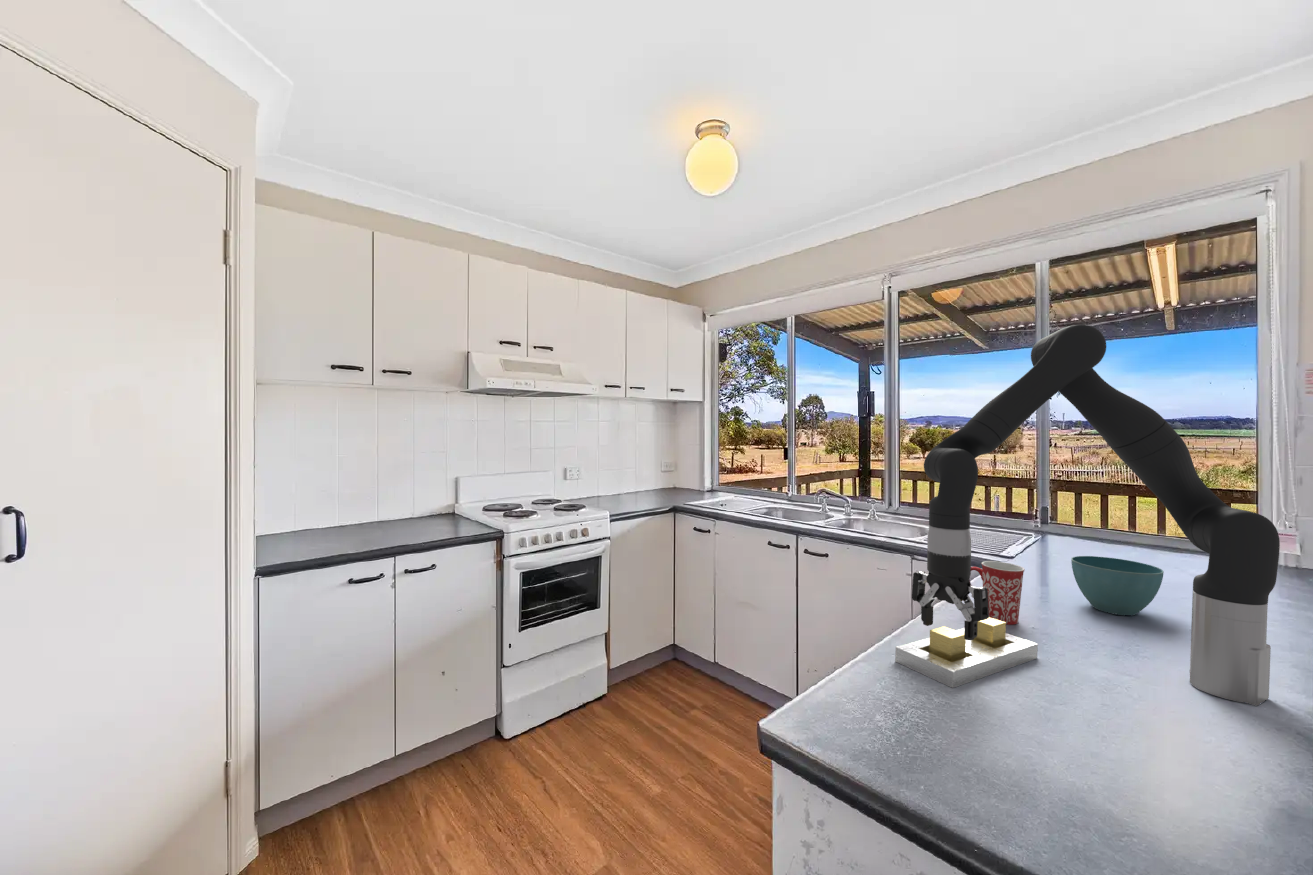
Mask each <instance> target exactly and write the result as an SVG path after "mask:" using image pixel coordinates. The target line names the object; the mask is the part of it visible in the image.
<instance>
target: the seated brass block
mask: <svg viewBox="0 0 1313 875" xmlns="http://www.w3.org/2000/svg"><path fill="white" fill-rule="evenodd" d="M1006 629H1007V627H1006V622H1003V621H1000V620H997V619H994V618H990V617H989V618H988V619H985V620H982V621H978V627H977V637H975V638H974V639H973V641H976V642H979V643H981V644H984V645H987V646H990V647H992V648H995V649H996V648H999V647H1002V646H1005V634H1006V633H1007V632H1006V631H1007V630H1006Z"/></svg>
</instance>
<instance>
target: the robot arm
mask: <svg viewBox="0 0 1313 875" xmlns="http://www.w3.org/2000/svg"><path fill="white" fill-rule="evenodd" d="M1106 351H1107V341H1106V339H1105V336H1104V335H1103V333H1102V332H1101V331H1100V330H1099V329H1098V328H1096V327H1094V326H1091V325H1088V324H1072V325H1070V326H1066V327H1063V328H1061V329H1058V330H1057V331H1054V332H1052V333H1051V334H1048V335H1046V336H1045V337H1043V338H1041V339H1039V340H1038V341H1036V343H1034V345H1033V346H1032V348H1031V350H1030V360H1031V365H1032V366H1033V367H1031V368H1030V369H1029V370H1028V371H1027V372H1025V374H1024V375H1023V376H1021V377H1020V378H1019V379H1018V380H1016V381H1015V382H1014V383H1013V384H1012V385H1010V386H1008V387H1007V388H1006V389H1005V390H1003V391H1001V393H999V394H998V395H997V396H995V397H994V398H992V399H991V400H990V401H989V402H987V404H985V405H984V406H983V407H982V408H981V409H979V411H977V412H976V414H974V416H972V418H970V419H969V420H968V422H966V423H965V424H964V425H963V426H962V427H961V428H960V429H959V430H957V431H955V432H954V433H952V434H951V435H949V436H947V437H946V438H945V439H943V440H942V441H941V442H939V443H937V445H935V446H934V447H933V448H932V449H931V450H930V451H929V452H928V454H927V455H926V456H925V459H924V461H923V470H924V473H925V475H926V476H927V477H928V478H929V479H931V480H933V481H934V482H937V483H939V484H938V486H939V487H938V492H937V495H936V496H934V497H932V498H931V500H929V507H928V530H927V540H926V541H927V543H926V545H927V546H926V547H927V552H926V556H927V557H926V558H927V559H926V564H927V565H926V570H927V572H928V573H926V572H925V571H924V570H920V571H915V572H913V574H912V588H911V590H912V591H911V599H912V601H914V602H917V603H918V604H919V605H920V607H921V608H920V609H921V614H920V615H921V616H920V619H921V621H922V624H923V626H926V627H929V626H931V625H933V624H934V606H933V604H934V602H936V601H937V600H939V601H942V602H943V601H944V602H946V603H948V604H951V605H955V607H956V609H957V610H958V611H960V612H961V614H962V616H963V617H964V619H965V620H964V627H963V628H964V638H965V640H968V641H970V640H973V639H974V638H975V637H977V627H978V621H982V620H985V619H988V618H989V607H988V590H987V588H986V587H983V586H981V587H978V586H973V585H972V583H971V580H970V581H969V579H971V574H972V571H971V567H972V566H971V565H972V537H971V511H970V510H971V504H972V501H973V498H974V494H975V491H976V487H977V483H978V477H979V468H978V464H977V460H976V458H977V457H979V456H982V455H987V454H990V453H993V451H995V450H997V449H998V448H999V447H1000V446H1001V445H1002V444H1003V443H1004V442H1005V441H1006V440H1007V439H1008V438H1009V437H1010V436H1011V435H1012V434H1013V433H1015V431H1016V430H1018V428H1019V427H1020V426H1022V425H1023V424H1024V423H1025V422H1026V420H1028V419H1029V418H1030V417H1031V416H1032V415H1034V413H1036V412H1037V410H1039V409H1040V408H1041V407H1042V406H1043V405H1044V404H1045V403H1046V402H1047V401H1049V400H1050V399H1051V398H1053V396H1055V395H1056V394H1057V393H1060V395H1061V396H1063V397H1064V398H1065V399H1066V400H1067V401H1068V402H1070V404H1071V405H1072V406H1073V407H1075V409H1076V410H1077V411H1078V413H1080V415H1082V417H1083V418H1084V419H1085V420H1086V421H1087V422H1088V423H1089V425H1090V426H1091V427H1092V428H1093V429H1094V430H1095V431H1096V432H1097V433H1098V434H1099V435H1100V436H1101V438H1102V439H1103V440H1104V441H1105V442H1106V444H1107V445H1108V446H1109V447H1110V449H1111V450H1112V451H1113V452H1114V453H1115V454H1116V455H1117V457H1118V458H1119V459H1120V460H1121V461H1122V462H1123V463H1124V464H1125V465H1126V466H1127V467H1128V468H1129V469H1130V470H1131V471H1132V472H1133V474H1134V475H1136V476H1137V478H1138V479H1139V480H1140V481H1141V483H1143V484H1144V485H1145V486H1146V487H1147V488H1148V489H1149V491H1151V492H1152V493H1153V495H1155V496H1156V497H1157V499H1158V500H1159V501H1160V502H1161V503H1162V505H1163V506H1164V507H1165V508H1166V510H1167V511H1168V513H1169V514H1170V515H1171V517H1172V518H1173V519H1174V521H1175V522H1176V524H1177V526H1178V527H1179V528H1180V530H1181V531H1182V533H1183V534H1184V535H1185V537H1186V538H1187V539H1188V541H1189V542H1190V543H1191V544H1192V545H1194V547H1196V548H1198V549H1199V550H1201V551H1202V552H1204V553H1207V554H1208V555H1209V556H1208V565H1207V569H1206V571H1205V573H1201V574H1198V575H1195V576H1193V577H1194V578H1193V581H1192V598H1191V599H1192V603H1191V631H1190V634H1191V635H1190V657H1189V658H1190V659H1189V661H1190V662H1189V683H1190V684H1191V685H1192V686H1193V687H1194V688H1196V689H1198V690H1199V691H1202V692H1204V693H1206V694H1209V695H1212V696H1216V697H1218V698H1222V699H1225V700H1230V701H1234V702H1238V703H1244V702H1246V704H1248V703H1249V705H1253V706H1255V707H1258V706H1259V704H1260V703H1261V704H1263V703H1264V702H1266V701H1267V700H1269V699H1270V679H1271V677H1270V676H1271V675H1270V674H1271V652H1272V651H1271V649H1272V646H1271V645H1270V644H1269V643H1267V640H1268V639H1267V638H1268V637H1267V633H1268V630H1267V629H1268V609H1269V608H1268V607H1269V605H1268V604H1269V595H1270V593H1271V592H1272V591H1273V590H1274V589H1275V586H1276V583H1277V578H1278V577H1277V576H1278V568H1279V560H1280V559H1279V558H1280V548H1281V547H1280V546H1281V545H1280V536H1279V532H1278V530H1277V528H1276V526H1275V525H1274V523H1273V522H1272V521H1271V520H1270V519H1269V518H1268V517H1266V516H1264V515H1262V514H1259V513H1257V512H1254V511H1249V510H1244V509H1241V508H1234V507H1231V506H1229V505H1227V503H1225V502H1224V501H1223V500H1221V499H1220V497H1218V496H1217V495H1216V494H1215V493H1214V492H1213V491H1212V490H1211V489H1210V488H1209V487H1208V486H1207V485H1206V484H1205V483H1204V482H1203V480H1202V479H1201V477H1200V475H1198V473H1197V471H1196V468H1195V466H1194V462H1193V459H1192V456H1191V453H1190V451H1189V448H1188V446H1187V444H1186V443H1185V441H1184V440H1183V438H1182V437H1181V435H1180V434H1178V432H1177V431H1176V430H1175V428H1173V427H1172V426H1171V425H1170V424H1169V423H1168V422H1167V421H1166V419H1165V418H1164V417H1163V416H1162V415H1160V414H1159V412H1157V411H1155V410H1154V409H1153V408H1152V407H1150V406H1148V405H1146V404H1144V403H1143V402H1141V401H1139V400H1138V399H1135V398H1133V397H1132V396H1129V395H1128V394H1126V393H1123V392H1122V391H1120V390H1118V389H1116V388H1115V387H1113V386H1112V385H1110V384H1109V383H1107V382H1106V381H1105V380H1104V379H1103V378H1102V377H1101V375H1100V374H1099V373H1097V371H1096V370H1095V369H1094V368H1095V367H1096V366H1098V364H1099V363H1100V362H1101V361H1102V360H1103V359H1104V357H1105V355H1106ZM926 583H927V584H928V586H929V589H928V590H927V591H926ZM970 583H971V584H970ZM971 585H972V586H971ZM970 594H971V596H969V595H970ZM971 597H972V599H973V601H972V599H971ZM963 602H964V603H963ZM1268 698H1269V699H1268ZM1265 700H1266V701H1265ZM1262 702H1263V703H1262ZM1261 704H1260V705H1261Z"/></svg>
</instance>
